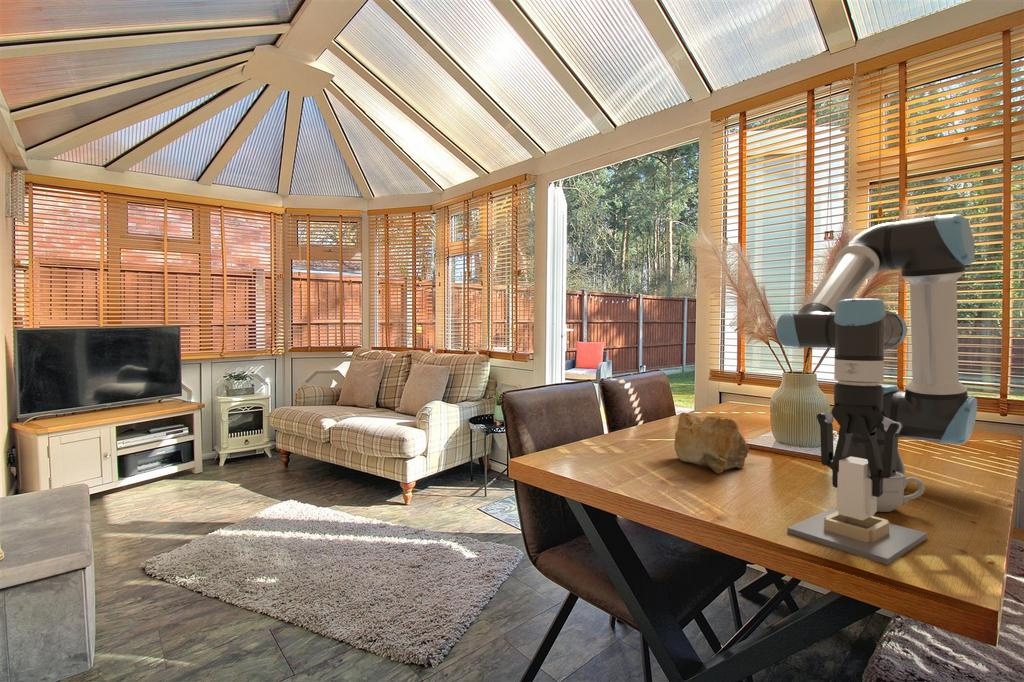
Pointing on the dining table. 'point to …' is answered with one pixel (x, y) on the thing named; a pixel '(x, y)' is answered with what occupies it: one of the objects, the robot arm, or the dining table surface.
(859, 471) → the plug
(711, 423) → the rough brown rock
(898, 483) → the teacup
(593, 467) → the dining table surface
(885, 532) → the socket plate
